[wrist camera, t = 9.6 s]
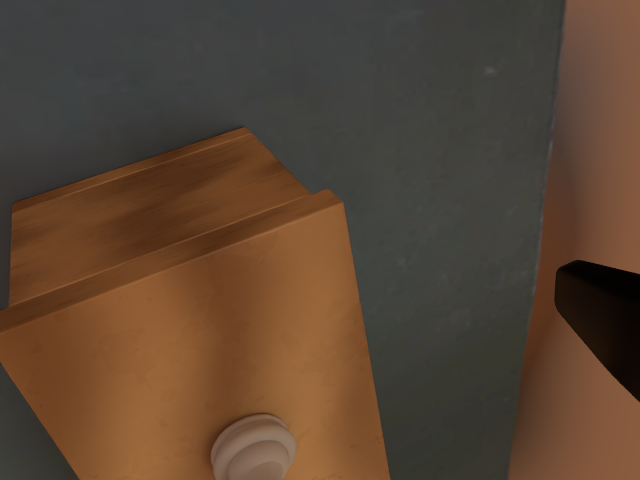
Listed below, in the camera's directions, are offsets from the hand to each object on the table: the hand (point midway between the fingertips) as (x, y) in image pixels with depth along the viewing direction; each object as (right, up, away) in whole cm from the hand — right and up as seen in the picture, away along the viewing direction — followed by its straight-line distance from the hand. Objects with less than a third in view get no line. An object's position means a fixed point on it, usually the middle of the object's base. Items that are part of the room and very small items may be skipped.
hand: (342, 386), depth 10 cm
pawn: (-3, -4, +8) cm, 9 cm away
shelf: (-6, -1, +14) cm, 15 cm away
